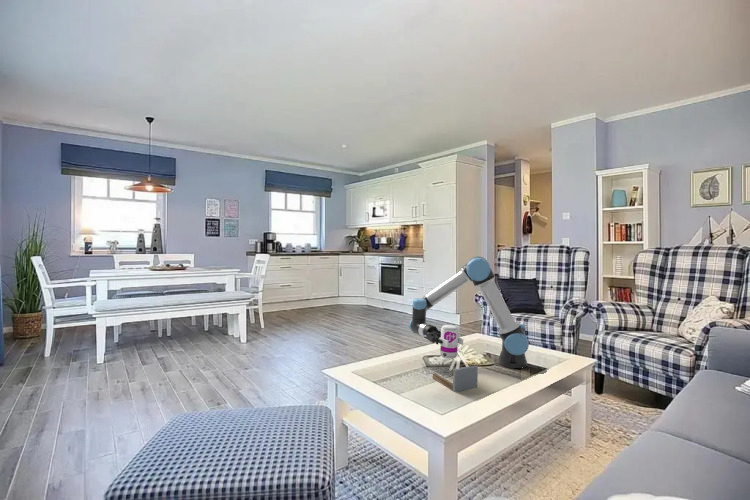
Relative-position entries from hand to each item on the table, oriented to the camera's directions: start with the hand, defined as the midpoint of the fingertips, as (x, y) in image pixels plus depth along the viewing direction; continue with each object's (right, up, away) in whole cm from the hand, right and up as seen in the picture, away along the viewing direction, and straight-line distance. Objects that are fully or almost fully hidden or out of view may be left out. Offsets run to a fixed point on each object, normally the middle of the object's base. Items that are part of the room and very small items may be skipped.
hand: (455, 342), depth 183 cm
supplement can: (-2, -8, +5) cm, 9 cm away
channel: (-1, -19, +1) cm, 20 cm away
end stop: (+3, -20, -6) cm, 21 cm away
